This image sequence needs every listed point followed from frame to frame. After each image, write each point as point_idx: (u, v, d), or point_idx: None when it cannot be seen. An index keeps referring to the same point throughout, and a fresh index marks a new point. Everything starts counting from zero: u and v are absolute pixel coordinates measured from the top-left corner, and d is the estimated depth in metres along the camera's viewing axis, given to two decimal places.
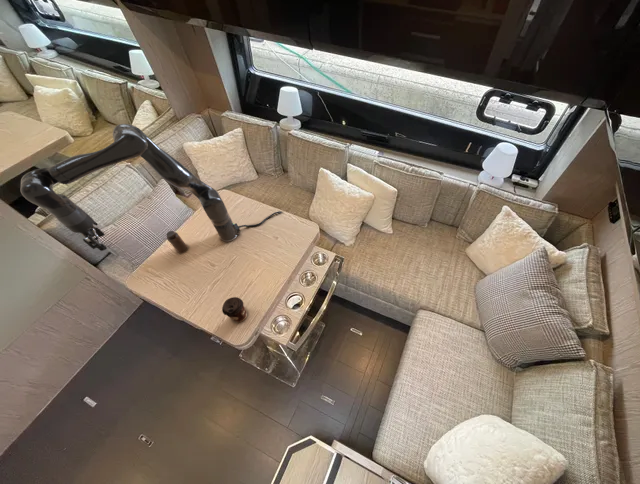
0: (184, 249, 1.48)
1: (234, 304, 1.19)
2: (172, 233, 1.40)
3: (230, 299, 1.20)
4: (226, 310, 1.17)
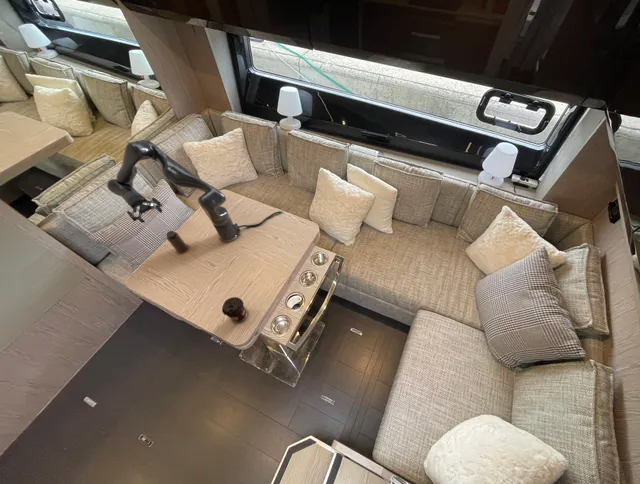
0: (184, 249, 1.48)
1: (234, 304, 1.19)
2: (172, 233, 1.40)
3: (230, 299, 1.20)
4: (226, 310, 1.17)
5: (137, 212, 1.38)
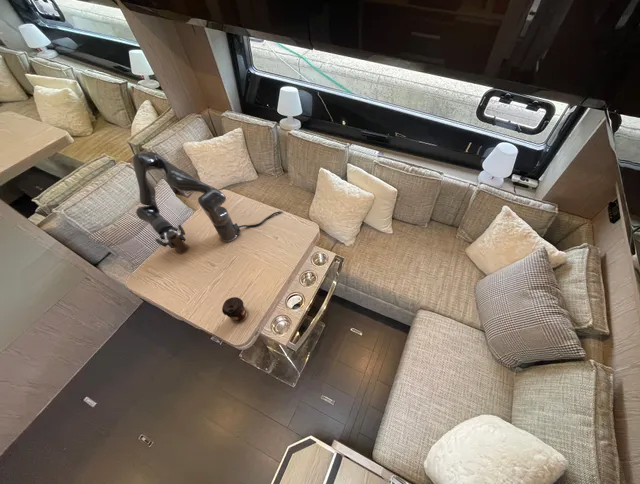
0: (184, 249, 1.48)
1: (234, 304, 1.19)
2: (172, 233, 1.40)
3: (230, 299, 1.20)
4: (226, 310, 1.17)
5: None
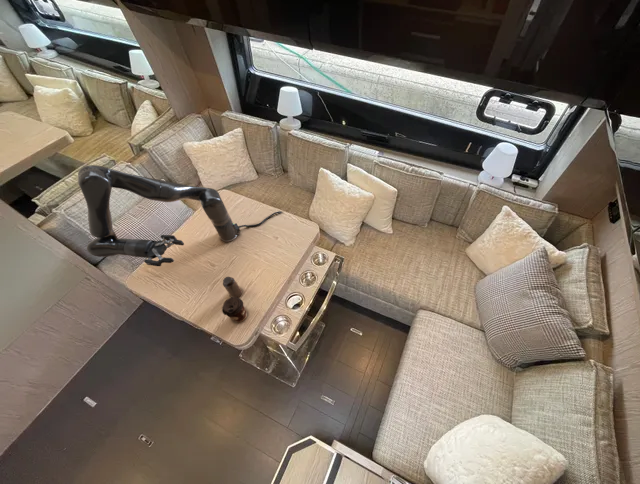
0: (240, 291, 1.34)
1: (234, 304, 1.19)
2: (229, 278, 1.25)
3: (230, 299, 1.20)
4: (226, 310, 1.17)
5: (158, 255, 1.14)
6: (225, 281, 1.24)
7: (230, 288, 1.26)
